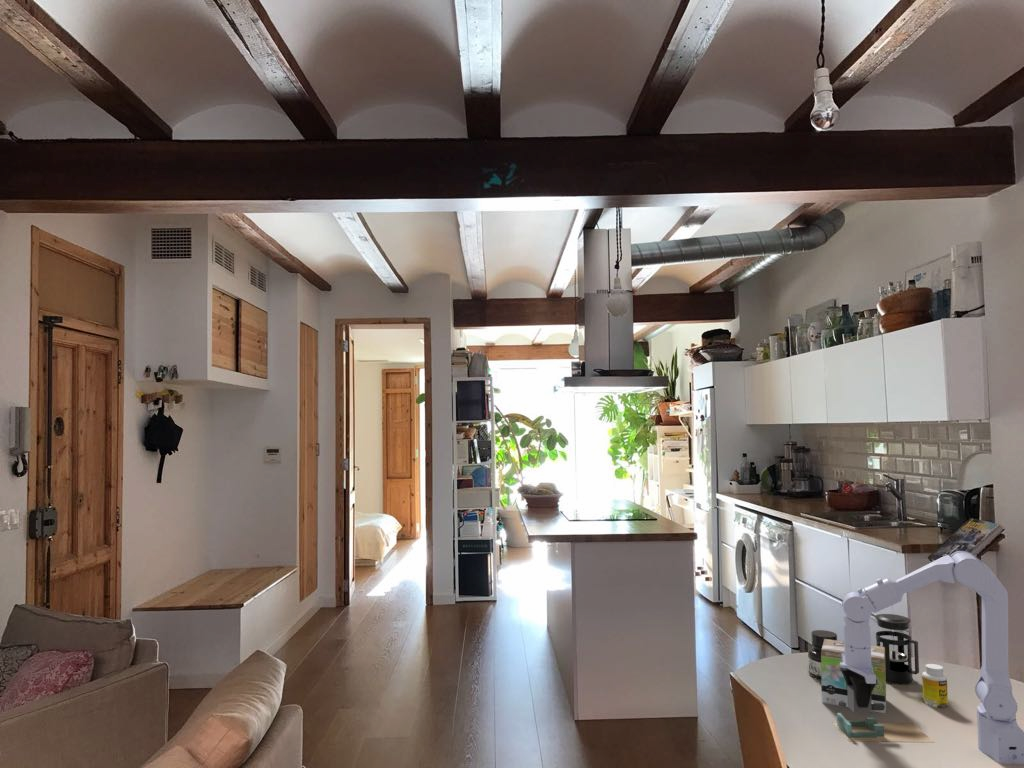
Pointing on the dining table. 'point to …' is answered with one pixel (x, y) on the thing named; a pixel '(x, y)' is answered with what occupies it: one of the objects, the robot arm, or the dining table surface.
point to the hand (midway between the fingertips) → (859, 703)
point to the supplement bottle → (934, 686)
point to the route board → (879, 731)
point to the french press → (896, 660)
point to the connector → (854, 707)
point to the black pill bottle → (818, 651)
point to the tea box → (834, 680)
